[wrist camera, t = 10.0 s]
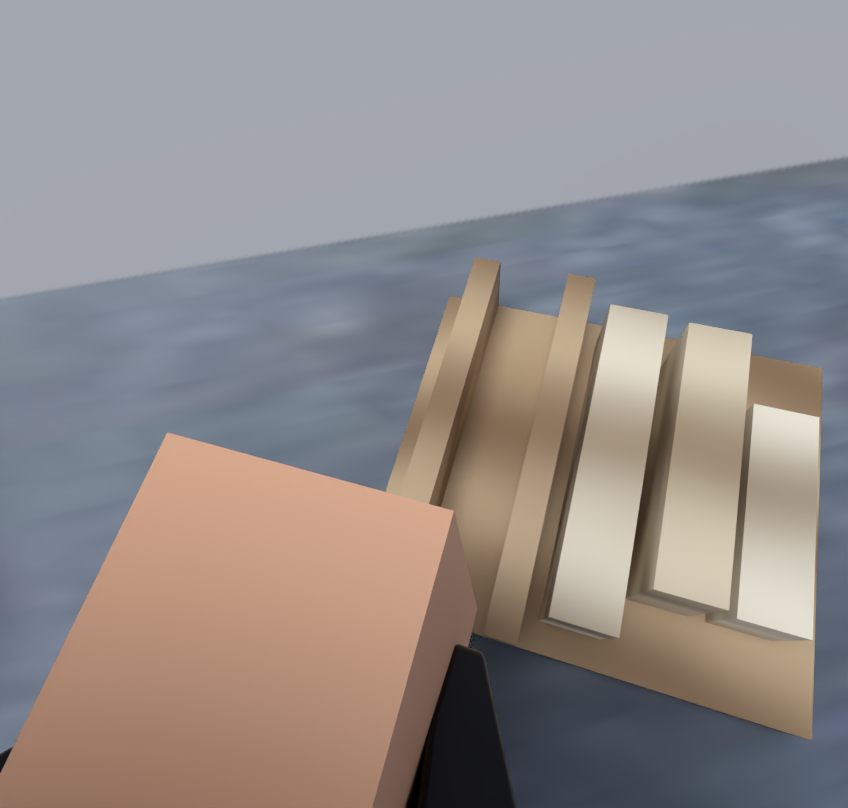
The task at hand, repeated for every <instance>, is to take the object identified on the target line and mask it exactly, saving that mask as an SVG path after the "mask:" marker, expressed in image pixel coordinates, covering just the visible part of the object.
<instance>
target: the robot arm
mask: <svg viewBox="0 0 848 808" xmlns="http://www.w3.org/2000/svg"><path fill="white" fill-rule="evenodd" d="M12 749H13V747H12V748H10V749H8V750H6V751H5V752H3V753H1V754H0V773H1V771H2V769H3V767H4V765H5V763H6V761H7V759H8V757H9V755H10V753H11V751H12ZM413 808H516V803H515V799H514V794H513V789H512V784H511V780H510V775H509V770H508V765H507V761H506V756H505V751H504V746H503V742H502V737H501V732H500V727H499V723H498V718H497V713H496V708H495V704H494V699H493V694H492V690H491V685H490V680H489V675H488V671H487V666H486V661H485V657H484V655H483V653H482V652H481V651H478V650H475V649H472V648H469V647H466V646H463V645H460V644H457V645H455V647H454V650H453V653H452V656H451V660H450V663H449V666H448V669H447V672H446V675H445V678H444V682H443V685H442V688H441V691H440V694H439V697H438V701H437V704H436V707H435V710H434V713H433V717H432V720H431V723H430V726H429V730H428V734H427V739H426V744H425V749H424V754H423V759H422V764H421V769H420V774H419V779H418V784H417V789H416V794H415V799H414V804H413Z"/></svg>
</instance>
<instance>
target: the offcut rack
mask: <svg viewBox="0 0 848 808" xmlns="http://www.w3.org/2000/svg"><path fill="white" fill-rule="evenodd" d="M500 264H501V262H499V261H493V260H488V259H482V258H476V257H475V260H474V263H473V266H472V269H471V272H470V276H469V279H468V282H467V285H466V288H465V291H464V294H463V298H462V299H461V298H456V297H451V296H450V297H449V300H448V303H447V306H446V309H445V312H444V315H443V318H442V321H441V324H440V328H439V331H438V334H437V337H436V340H435V343H434V346H433V349H432V352H431V355H430V358H429V361H428V364H427V367H426V370H425V373H424V376H423V379H422V382H421V385H420V388H419V391H418V395H417V398H416V401H415V404H414V407H413V410H412V413H411V416H410V419H409V422H408V425H407V428H406V431H405V434H404V437H403V440H402V443H401V446H400V449H399V452H398V455H397V458H396V461H395V465H394V468H393V471H392V474H391V477H390V480H389V483H388V486H387V489H386V492H387V493H390V494H394V495H398V496H401V497H405V498H409V499H412V500H416V501H420V502H423V503H427V504H431V505H434V506H438V507H442V508H445V509H449V510H453V511H454V513H455V517H456V522H457V526H458V530H459V534H460V538H461V542H462V546H463V551H464V555H465V559H466V563H467V567H468V571H469V575H470V580H471V584H472V588H473V592H474V596H475V600H476V604H477V612H476V616H475V621H474V625H473V629H472V633H474V634H477V635H480V636H483V637H486V638H490V639H493V640H496V641H499V642H502V643H505V644H508V645H512V646H515V647H518V648H521V649H524V650H527V651H530V652H534V653H537V654H540V655H543V656H546V657H549V658H552V659H556V660H559V661H562V662H565V663H568V664H571V665H574V666H578V667H581V668H584V669H587V670H590V671H593V672H596V673H599V674H603V675H606V676H609V677H612V678H615V679H618V680H621V681H625V682H628V683H631V684H634V685H637V686H640V687H643V688H647V689H650V690H653V691H656V692H659V693H662V694H665V695H669V696H672V697H675V698H678V699H681V700H684V701H687V702H691V703H694V704H697V705H700V706H703V707H706V708H709V709H713V710H716V711H719V712H722V713H725V714H728V715H731V716H734V717H738V718H741V719H744V720H747V721H750V722H753V723H756V724H760V725H763V726H766V727H769V728H772V729H775V730H778V731H782V732H785V733H788V734H791V735H795V736H798V737H802V738H805V739H808V740H812V719H813V685H814V651H815V616H816V582H817V548H818V514H819V479H820V445H821V411H822V377H823V368H819V367H813V366H808V365H803V364H798V363H793V362H788V361H782V360H777V359H772V358H767V357H762V356H756V355H751V345H752V334H748V333H743V332H737V331H732V330H726V329H721V328H716V327H710V326H705V325H700V324H694V323H689V324H688V325H687V327H686V329H685V330H684V332H683V333H682V335H681V336H680V338H679V339H678V340H674V339H668V338H665V334H666V327H667V320H668V315H665V314H660V313H655V312H649V311H644V310H638V309H633V308H628V307H622V306H617V305H610V308H609V310H608V313H607V316H606V318H605V321H604V323H603V326H601V325H596V324H591V323H586V322H587V317H588V313H589V308H590V303H591V299H592V294H593V289H594V285H595V280H596V279H595V278H590V277H584V276H578V275H573V274H569V275H568V279H567V283H566V287H565V291H564V296H563V300H562V304H561V308H560V313H559V317H555V316H549V315H544V314H539V313H534V312H529V311H524V310H518V309H513V308H508V307H503V306H499V285H500Z"/></svg>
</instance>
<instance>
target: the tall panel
mask: <svg viewBox="0 0 848 808" xmlns="http://www.w3.org/2000/svg"><path fill="white" fill-rule="evenodd" d="M476 612H477V604H476V600H475V596H474V592H473V588H472V584H471V580H470V575H469V571H468V567H467V563H466V559H465V555H464V551H463V546H462V542H461V538H460V534H459V530H458V526H457V522H456V517H455V513H454V511H453V510H449V509H445V508H442V507H438V506H434V505H431V504H427V503H423V502H420V501H416V500H412V499H409V498H405V497H401V496H398V495H394V494H390V493H387V492H383V491H380V490H376V489H372V488H369V487H365V486H361V485H358V484H354V483H350V482H347V481H343V480H339V479H336V478H332V477H328V476H325V475H321V474H317V473H314V472H310V471H306V470H303V469H299V468H295V467H292V466H288V465H284V464H281V463H277V462H273V461H270V460H266V459H262V458H259V457H255V456H251V455H248V454H244V453H240V452H237V451H233V450H229V449H226V448H222V447H218V446H215V445H211V444H207V443H204V442H200V441H196V440H193V439H189V438H185V437H182V436H178V435H175V434H171V433H167V435H166V437H165V439H164V441H163V443H162V445H161V447H160V449H159V451H158V453H157V455H156V457H155V459H154V461H153V463H152V465H151V467H150V469H149V471H148V473H147V475H146V477H145V480H144V482H143V484H142V486H141V488H140V490H139V492H138V494H137V496H136V498H135V500H134V502H133V504H132V506H131V508H130V510H129V512H128V514H127V516H126V518H125V520H124V522H123V524H122V526H121V528H120V530H119V533H118V535H117V537H116V539H115V541H114V543H113V545H112V547H111V549H110V551H109V553H108V555H107V557H106V559H105V561H104V563H103V565H102V567H101V569H100V571H99V573H98V575H97V577H96V579H95V581H94V583H93V586H92V588H91V590H90V592H89V594H88V596H87V598H86V600H85V602H84V604H83V606H82V608H81V610H80V612H79V614H78V616H77V618H76V620H75V622H74V624H73V626H72V628H71V630H70V632H69V634H68V636H67V638H66V641H65V643H64V645H63V647H62V649H61V651H60V653H59V655H58V657H57V659H56V661H55V663H54V665H53V667H52V669H51V671H50V673H49V675H48V677H47V679H46V681H45V683H44V685H43V687H42V689H41V691H40V694H39V696H38V698H37V700H36V702H35V704H34V706H33V708H32V710H31V712H30V714H29V716H28V718H27V720H26V722H25V724H24V726H23V728H22V730H21V732H20V734H19V736H18V738H17V740H16V742H15V744H14V747H13V749H12V751H11V753H10V755H9V757H8V759H7V761H6V763H5V765H4V767H3V769H2V771H1V773H0V808H413V804H414V799H415V794H416V789H417V784H418V779H419V774H420V769H421V764H422V759H423V754H424V749H425V744H426V739H427V734H428V730H429V726H430V723H431V720H432V717H433V713H434V710H435V707H436V704H437V701H438V697H439V694H440V691H441V688H442V685H443V682H444V678H445V675H446V672H447V669H448V666H449V663H450V660H451V656H452V653H453V650H454V647H455V645H457V644H460V645H463V646H466V647H468V645H469V641H470V637H471V633H472V629H473V625H474V621H475V616H476Z"/></svg>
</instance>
